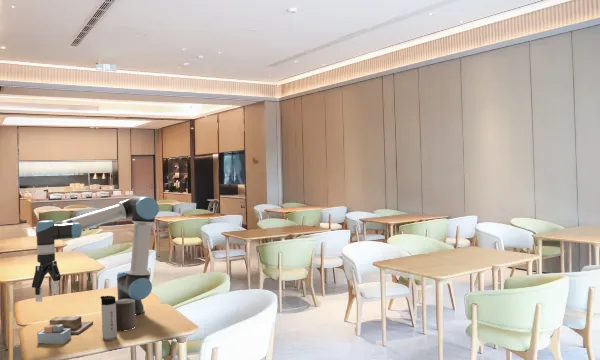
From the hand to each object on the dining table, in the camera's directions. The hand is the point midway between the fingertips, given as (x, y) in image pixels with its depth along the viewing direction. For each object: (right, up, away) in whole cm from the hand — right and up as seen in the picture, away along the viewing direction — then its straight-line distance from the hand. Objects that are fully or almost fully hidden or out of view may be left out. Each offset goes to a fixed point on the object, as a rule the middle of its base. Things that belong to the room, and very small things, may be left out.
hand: (47, 297), depth 234 cm
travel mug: (+31, -18, -4) cm, 37 cm away
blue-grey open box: (+6, -19, -5) cm, 21 cm away
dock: (+4, -19, +11) cm, 22 cm away
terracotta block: (+4, -15, -6) cm, 17 cm away
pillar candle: (+34, -18, +11) cm, 40 cm away
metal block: (+8, -15, -5) cm, 18 cm away
